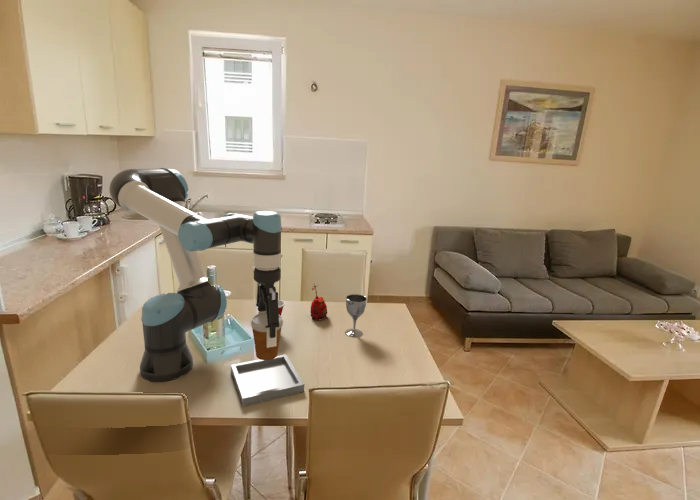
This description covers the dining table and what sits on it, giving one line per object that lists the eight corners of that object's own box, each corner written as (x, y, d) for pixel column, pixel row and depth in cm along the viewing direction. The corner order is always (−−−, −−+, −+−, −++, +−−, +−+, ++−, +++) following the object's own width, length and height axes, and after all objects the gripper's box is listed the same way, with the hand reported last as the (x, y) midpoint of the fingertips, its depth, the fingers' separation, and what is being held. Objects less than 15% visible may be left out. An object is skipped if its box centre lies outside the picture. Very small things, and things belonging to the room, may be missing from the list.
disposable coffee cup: (248, 349, 118) (248, 313, 115) (279, 345, 122) (280, 310, 118) (252, 365, 110) (252, 327, 106) (285, 361, 113) (286, 323, 110)
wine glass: (341, 335, 149) (343, 300, 145) (346, 327, 157) (349, 292, 153) (361, 339, 148) (364, 303, 144) (365, 330, 155) (368, 295, 151)
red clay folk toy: (320, 322, 159) (322, 288, 155) (306, 318, 162) (307, 285, 158) (329, 316, 166) (331, 283, 162) (315, 312, 169) (317, 280, 165)
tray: (242, 406, 106) (242, 398, 106) (231, 371, 122) (230, 364, 121) (304, 391, 114) (304, 384, 114) (285, 360, 130) (286, 354, 129)
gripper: (292, 277, 101) (290, 354, 106) (270, 255, 119) (269, 321, 125) (263, 280, 97) (263, 359, 103) (245, 256, 116) (246, 324, 122)
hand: (267, 338), depth 114 cm, fingers closed on disposable coffee cup, 9 cm apart
